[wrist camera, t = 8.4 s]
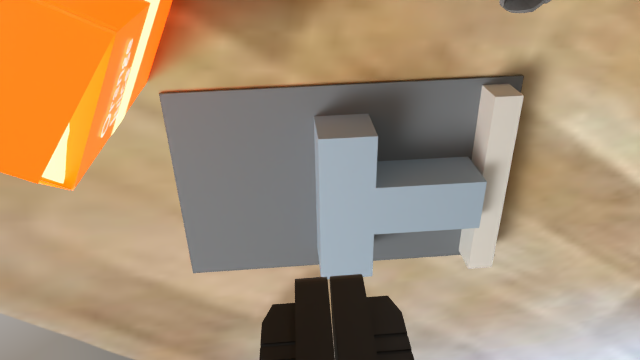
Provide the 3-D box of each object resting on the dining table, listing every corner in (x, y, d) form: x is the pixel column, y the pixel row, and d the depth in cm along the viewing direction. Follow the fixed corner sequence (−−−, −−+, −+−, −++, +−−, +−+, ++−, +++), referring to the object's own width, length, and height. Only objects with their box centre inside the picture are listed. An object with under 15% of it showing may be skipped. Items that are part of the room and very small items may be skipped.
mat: (522, 75, 37) (523, 76, 36) (490, 251, 44) (491, 252, 44) (159, 93, 35) (159, 94, 35) (193, 271, 43) (193, 273, 43)
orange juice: (32, -92, 29) (-324, -74, 12) (181, -24, 31) (68, 74, 14) (10, 33, 32) (-295, 192, 15) (146, 86, 35) (19, 276, 17)
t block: (317, 248, 43) (321, 279, 39) (313, 116, 37) (318, 139, 33) (456, 239, 43) (472, 269, 40) (474, 108, 37) (495, 130, 34)
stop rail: (509, 83, 37) (523, 95, 34) (480, 248, 44) (491, 266, 42) (482, 84, 36) (495, 96, 34) (458, 250, 44) (468, 268, 42)
